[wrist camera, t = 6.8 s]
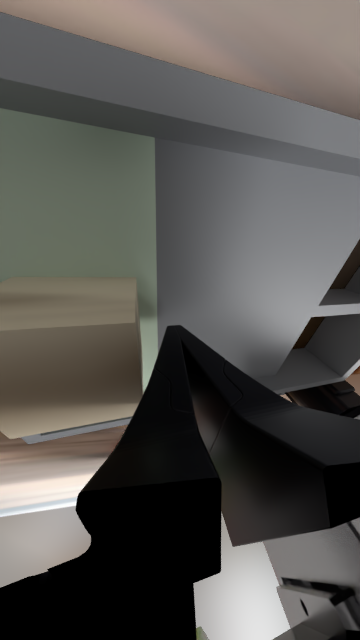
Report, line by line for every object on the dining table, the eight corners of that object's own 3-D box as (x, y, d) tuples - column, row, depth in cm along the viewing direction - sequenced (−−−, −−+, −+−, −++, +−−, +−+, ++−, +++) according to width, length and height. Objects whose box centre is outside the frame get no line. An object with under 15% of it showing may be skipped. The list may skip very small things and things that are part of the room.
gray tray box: (307, 351, 21) (344, 380, 17) (56, 385, 14) (28, 444, 11) (421, 189, 12) (550, 177, 8) (-122, 87, 5) (-707, -202, 2)
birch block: (142, 351, 10) (144, 414, 7) (55, 360, 9) (10, 439, 6) (136, 277, 8) (134, 322, 4) (12, 276, 6) (-114, 337, 3)
